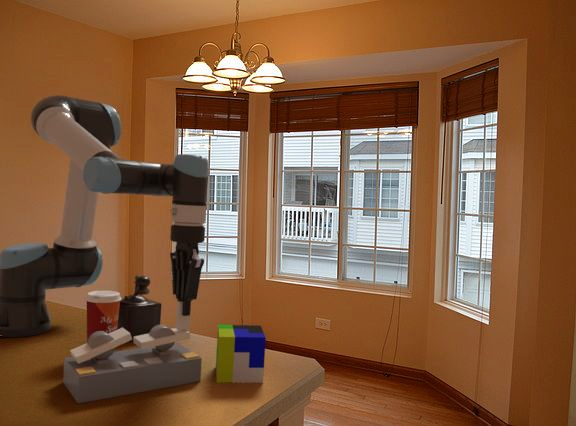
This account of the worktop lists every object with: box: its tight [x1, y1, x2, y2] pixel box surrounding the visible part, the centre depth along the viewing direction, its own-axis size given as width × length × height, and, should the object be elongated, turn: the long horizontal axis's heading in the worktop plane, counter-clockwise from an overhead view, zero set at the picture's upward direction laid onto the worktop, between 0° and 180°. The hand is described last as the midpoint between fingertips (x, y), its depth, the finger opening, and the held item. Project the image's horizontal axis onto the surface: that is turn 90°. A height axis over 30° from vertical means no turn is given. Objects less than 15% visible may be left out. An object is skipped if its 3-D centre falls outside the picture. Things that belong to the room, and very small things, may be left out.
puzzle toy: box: [215, 324, 267, 384], centre depth 114 cm, size 10×10×10 cm
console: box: [62, 342, 202, 404], centre depth 106 cm, size 12×25×6 cm, turn 126°
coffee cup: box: [84, 290, 123, 342], centre depth 121 cm, size 8×8×15 cm
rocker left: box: [69, 327, 132, 364], centre depth 103 cm, size 5×11×5 cm, turn 126°
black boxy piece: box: [117, 275, 162, 342], centre depth 137 cm, size 16×11×18 cm
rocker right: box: [133, 324, 191, 351], centre depth 110 cm, size 5×11×5 cm, turn 126°
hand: (182, 328), depth 113 cm, fingers closed
